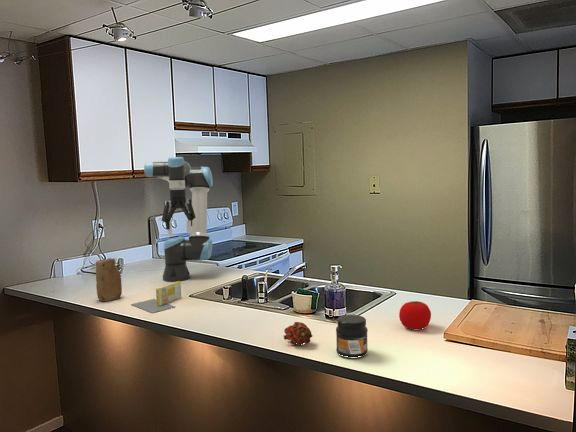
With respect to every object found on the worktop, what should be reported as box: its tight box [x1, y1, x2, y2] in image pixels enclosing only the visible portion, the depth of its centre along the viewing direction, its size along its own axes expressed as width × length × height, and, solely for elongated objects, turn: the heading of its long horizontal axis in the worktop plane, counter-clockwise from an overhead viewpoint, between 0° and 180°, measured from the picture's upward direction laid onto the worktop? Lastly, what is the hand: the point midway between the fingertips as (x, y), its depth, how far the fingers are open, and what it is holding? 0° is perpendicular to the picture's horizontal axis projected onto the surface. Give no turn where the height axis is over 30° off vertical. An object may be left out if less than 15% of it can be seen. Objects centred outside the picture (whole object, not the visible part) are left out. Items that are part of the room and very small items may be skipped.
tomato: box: [398, 300, 432, 330], centre depth 188 cm, size 12×12×10 cm
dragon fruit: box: [283, 321, 313, 346], centre depth 175 cm, size 8×8×12 cm
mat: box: [130, 298, 176, 314], centre depth 227 cm, size 12×20×1 cm, turn 44°
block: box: [95, 258, 123, 302], centre depth 239 cm, size 11×8×20 cm
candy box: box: [155, 281, 183, 306], centre depth 232 cm, size 16×2×8 cm, turn 154°
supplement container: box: [335, 314, 369, 357], centre depth 164 cm, size 10×10×12 cm
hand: (179, 234), depth 239 cm, fingers open, 10 cm apart
